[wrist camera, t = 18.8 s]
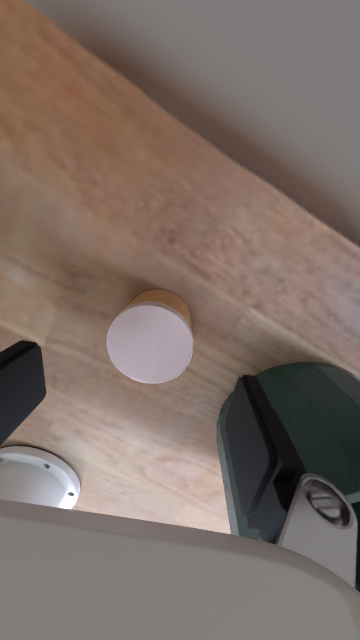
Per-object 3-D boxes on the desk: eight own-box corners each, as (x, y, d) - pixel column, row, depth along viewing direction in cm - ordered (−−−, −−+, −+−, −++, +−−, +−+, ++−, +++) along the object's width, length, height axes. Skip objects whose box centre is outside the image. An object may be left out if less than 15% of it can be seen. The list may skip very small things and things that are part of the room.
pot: (298, 493, 26) (367, 646, 16) (188, 442, 24) (188, 586, 14) (410, 409, 21) (614, 559, 11) (282, 331, 18) (396, 434, 8)
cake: (124, 345, 19) (104, 377, 15) (128, 283, 17) (106, 298, 13) (186, 354, 19) (185, 389, 15) (197, 294, 17) (201, 312, 13)
